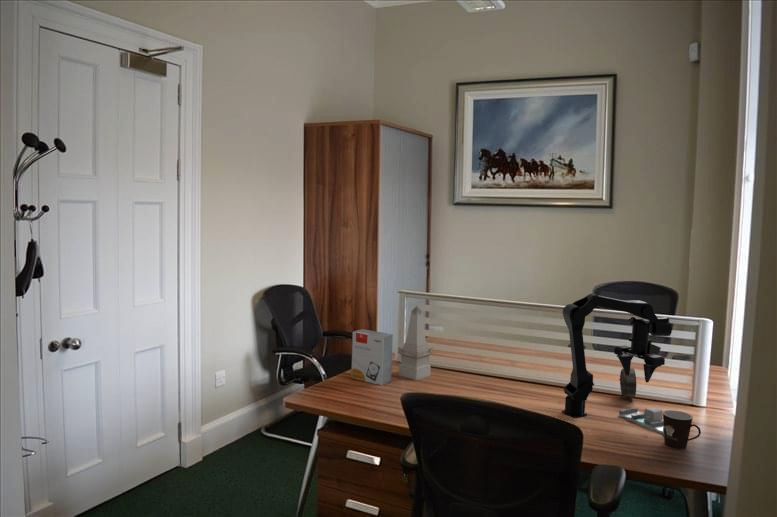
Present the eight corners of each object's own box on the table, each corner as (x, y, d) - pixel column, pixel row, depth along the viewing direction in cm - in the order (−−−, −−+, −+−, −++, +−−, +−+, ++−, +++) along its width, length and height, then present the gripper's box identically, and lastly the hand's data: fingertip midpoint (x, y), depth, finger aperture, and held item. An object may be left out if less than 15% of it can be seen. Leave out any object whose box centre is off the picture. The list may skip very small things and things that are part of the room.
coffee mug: (655, 440, 208) (657, 410, 207) (681, 440, 209) (683, 410, 208) (674, 454, 197) (676, 423, 196) (701, 454, 198) (704, 423, 197)
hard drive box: (350, 379, 267) (351, 331, 265) (360, 374, 274) (361, 328, 272) (382, 385, 259) (383, 336, 257) (392, 381, 266) (393, 333, 263)
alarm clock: (636, 403, 245) (638, 361, 244) (621, 402, 246) (623, 360, 245) (631, 394, 256) (634, 354, 254) (617, 393, 257) (619, 353, 255)
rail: (665, 435, 213) (665, 429, 212) (618, 416, 230) (619, 410, 230) (682, 432, 216) (682, 425, 216) (635, 413, 234) (635, 407, 234)
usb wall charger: (661, 421, 223) (662, 410, 223) (648, 424, 220) (649, 412, 219) (652, 417, 227) (652, 406, 226) (638, 420, 223) (639, 409, 223)
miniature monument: (431, 375, 275) (434, 306, 272) (416, 380, 268) (418, 309, 265) (412, 370, 282) (415, 302, 279) (397, 375, 274) (399, 305, 271)
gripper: (677, 340, 226) (674, 383, 228) (637, 329, 243) (634, 370, 244) (654, 342, 221) (651, 387, 223) (614, 331, 238) (611, 372, 240)
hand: (637, 378), depth 233 cm, fingers open, 9 cm apart
